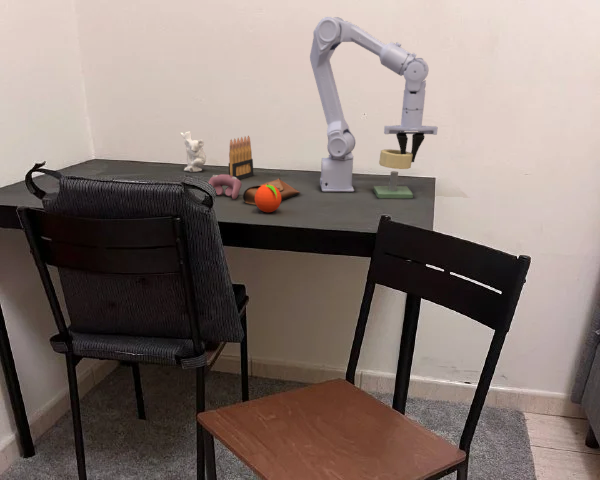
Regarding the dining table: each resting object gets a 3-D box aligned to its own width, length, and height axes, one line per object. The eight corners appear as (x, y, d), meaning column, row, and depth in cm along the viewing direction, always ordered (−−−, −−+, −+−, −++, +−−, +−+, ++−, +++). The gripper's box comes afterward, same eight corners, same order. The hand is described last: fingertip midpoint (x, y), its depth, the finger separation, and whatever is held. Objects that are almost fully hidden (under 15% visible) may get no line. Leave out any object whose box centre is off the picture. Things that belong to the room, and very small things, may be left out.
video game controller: (240, 203, 175) (244, 177, 174) (234, 198, 170) (238, 173, 170) (209, 199, 177) (212, 175, 177) (202, 195, 173) (206, 170, 172)
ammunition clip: (233, 181, 192) (231, 139, 186) (228, 180, 193) (226, 139, 186) (253, 175, 200) (252, 135, 193) (249, 174, 200) (247, 134, 194)
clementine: (288, 214, 159) (288, 185, 156) (265, 217, 156) (265, 189, 153) (272, 207, 165) (272, 179, 161) (250, 210, 162) (249, 182, 158)
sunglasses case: (268, 205, 165) (257, 181, 163) (250, 215, 169) (239, 192, 168) (302, 192, 178) (292, 170, 176) (284, 202, 182) (274, 180, 181)
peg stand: (378, 198, 176) (379, 175, 172) (373, 190, 184) (374, 168, 181) (412, 198, 176) (415, 175, 173) (406, 190, 185) (408, 168, 181)
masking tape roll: (381, 167, 171) (383, 153, 170) (377, 161, 179) (379, 148, 177) (412, 170, 172) (415, 156, 170) (407, 163, 180) (409, 150, 178)
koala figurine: (177, 171, 203) (174, 131, 197) (191, 167, 208) (188, 129, 202) (197, 174, 200) (194, 134, 193) (210, 170, 205) (208, 131, 198)
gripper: (388, 110, 164) (384, 164, 171) (442, 111, 165) (436, 164, 172) (384, 107, 170) (380, 159, 177) (436, 108, 171) (430, 159, 178)
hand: (407, 161), depth 175 cm, fingers closed on masking tape roll, 2 cm apart
